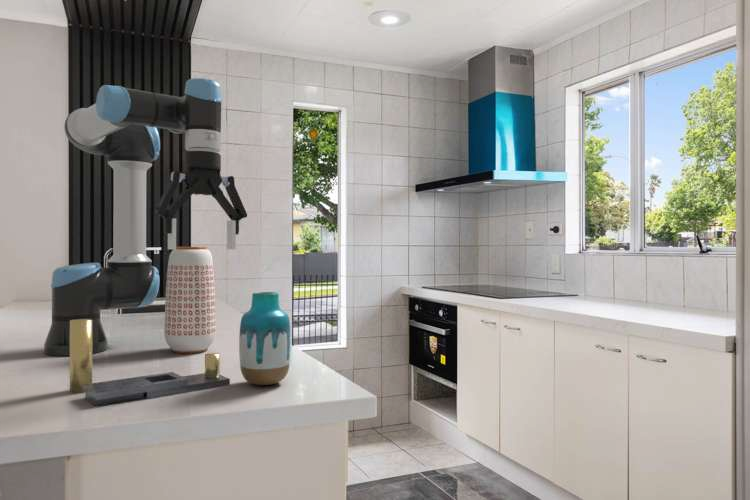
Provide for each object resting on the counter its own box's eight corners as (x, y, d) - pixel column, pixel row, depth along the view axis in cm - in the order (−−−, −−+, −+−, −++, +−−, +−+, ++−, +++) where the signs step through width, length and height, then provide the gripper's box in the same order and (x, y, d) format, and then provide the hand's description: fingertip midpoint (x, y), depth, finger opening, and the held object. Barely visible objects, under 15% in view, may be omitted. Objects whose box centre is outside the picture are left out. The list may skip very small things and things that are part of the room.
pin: (67, 390, 115) (67, 319, 115) (89, 387, 118) (89, 318, 118) (72, 394, 112) (72, 322, 112) (94, 390, 115) (94, 320, 115)
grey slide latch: (83, 397, 110) (83, 366, 110) (212, 377, 127) (212, 350, 127) (96, 407, 104) (96, 373, 104) (229, 384, 121) (229, 355, 121)
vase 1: (161, 356, 150) (161, 247, 149) (167, 346, 163) (167, 246, 162) (214, 354, 153) (215, 247, 152) (216, 345, 166) (217, 246, 165)
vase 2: (266, 393, 114) (267, 296, 114) (228, 385, 120) (228, 293, 120) (300, 382, 123) (301, 292, 123) (263, 375, 129) (264, 289, 129)
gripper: (151, 143, 115) (151, 249, 116) (262, 156, 132) (261, 249, 132) (138, 147, 121) (138, 249, 121) (246, 159, 137) (245, 249, 138)
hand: (202, 249), depth 127 cm, fingers open, 13 cm apart
